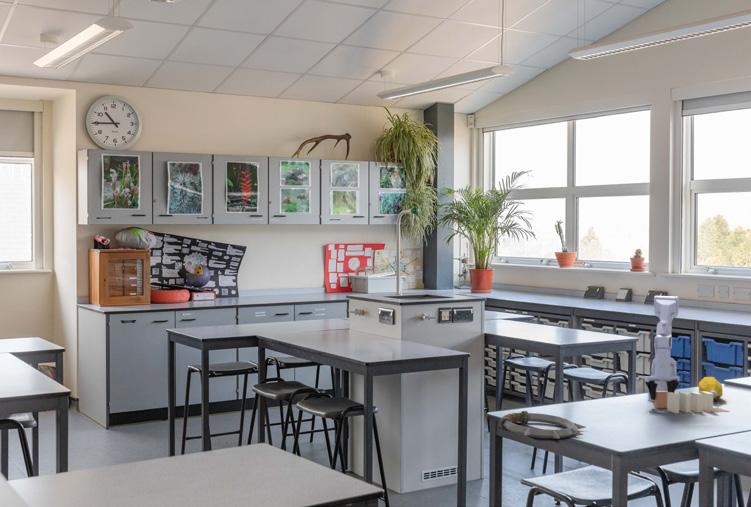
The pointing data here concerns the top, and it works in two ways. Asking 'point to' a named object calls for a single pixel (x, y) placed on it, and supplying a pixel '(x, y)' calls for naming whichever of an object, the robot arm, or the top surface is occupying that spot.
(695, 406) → the domino
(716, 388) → the yellow elongated lump
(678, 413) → the domino board
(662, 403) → the domino
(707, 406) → the domino
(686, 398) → the domino
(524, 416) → the spiked ring
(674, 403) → the domino
